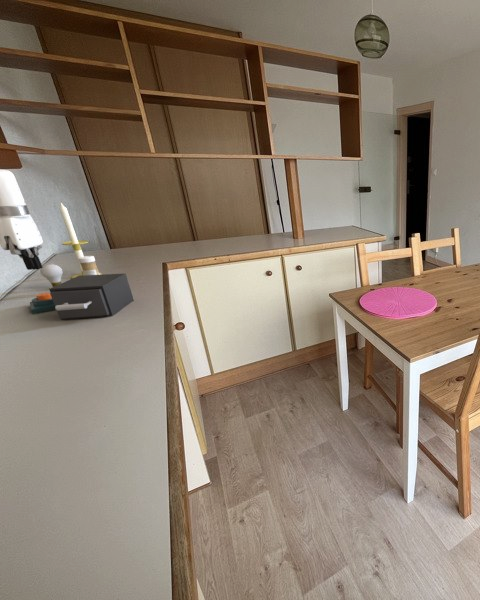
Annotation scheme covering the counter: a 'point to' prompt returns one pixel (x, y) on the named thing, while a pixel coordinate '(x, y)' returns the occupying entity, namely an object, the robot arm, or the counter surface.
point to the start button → (44, 296)
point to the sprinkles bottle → (88, 265)
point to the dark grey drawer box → (111, 286)
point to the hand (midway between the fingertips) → (35, 268)
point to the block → (42, 305)
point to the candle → (72, 237)
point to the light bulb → (52, 274)
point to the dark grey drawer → (79, 303)
